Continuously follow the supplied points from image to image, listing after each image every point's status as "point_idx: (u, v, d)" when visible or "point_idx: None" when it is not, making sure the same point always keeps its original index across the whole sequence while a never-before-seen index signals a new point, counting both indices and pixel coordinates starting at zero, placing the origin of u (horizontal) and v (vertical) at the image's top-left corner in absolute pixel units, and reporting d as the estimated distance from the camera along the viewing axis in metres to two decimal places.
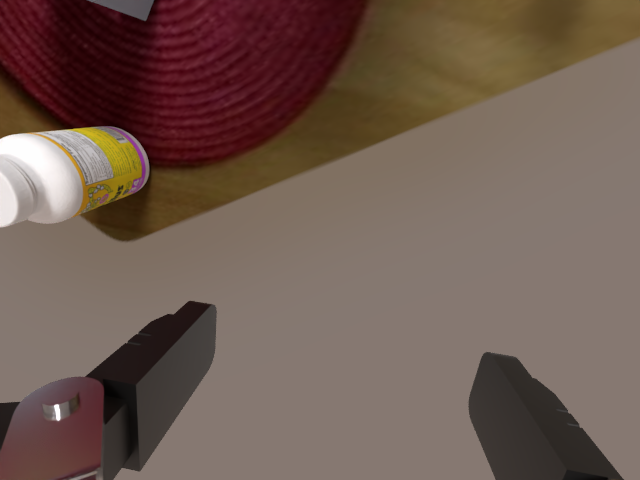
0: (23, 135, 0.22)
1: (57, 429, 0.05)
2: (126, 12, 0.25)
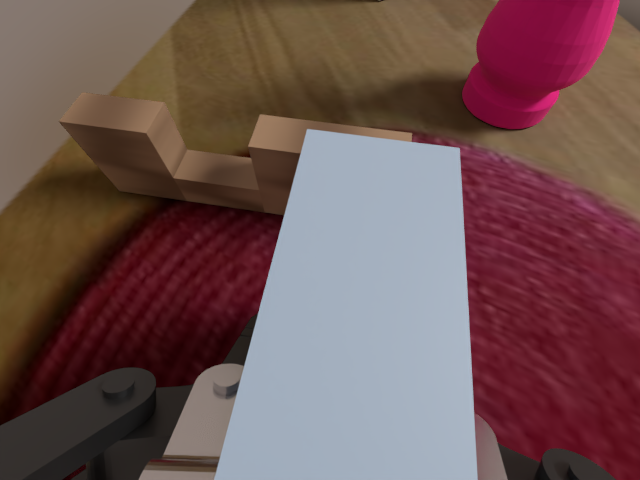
0: None
1: (219, 408, 0.06)
2: None
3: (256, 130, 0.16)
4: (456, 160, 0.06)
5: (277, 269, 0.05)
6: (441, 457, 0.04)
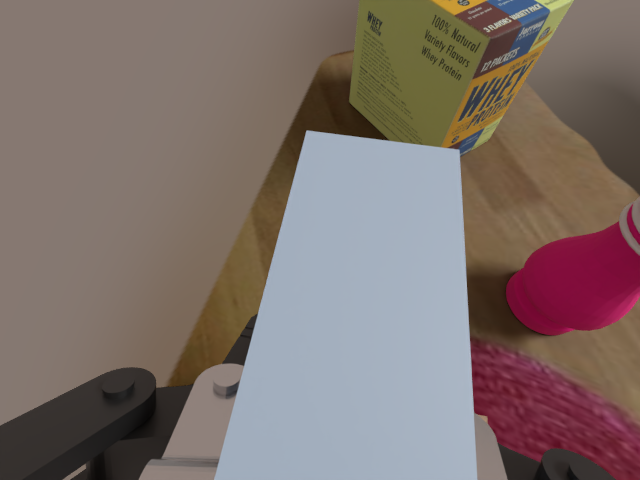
0: None
1: (219, 409, 0.06)
2: None
3: None
4: (456, 162, 0.06)
5: (276, 271, 0.05)
6: (441, 461, 0.04)
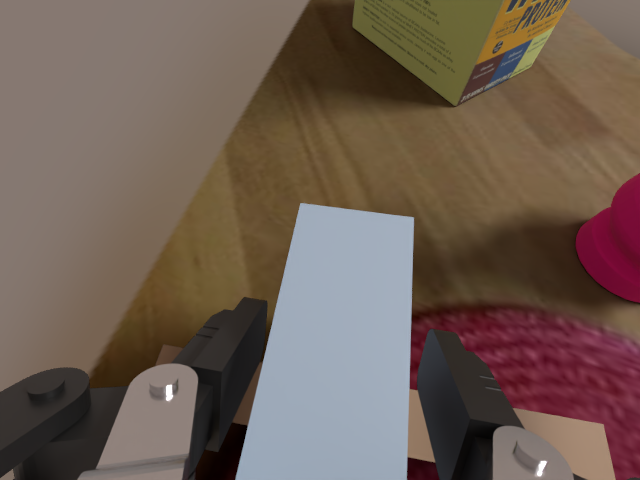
0: None
1: (158, 410, 0.06)
2: None
3: None
4: (410, 228, 0.08)
5: (278, 316, 0.07)
6: (384, 444, 0.06)
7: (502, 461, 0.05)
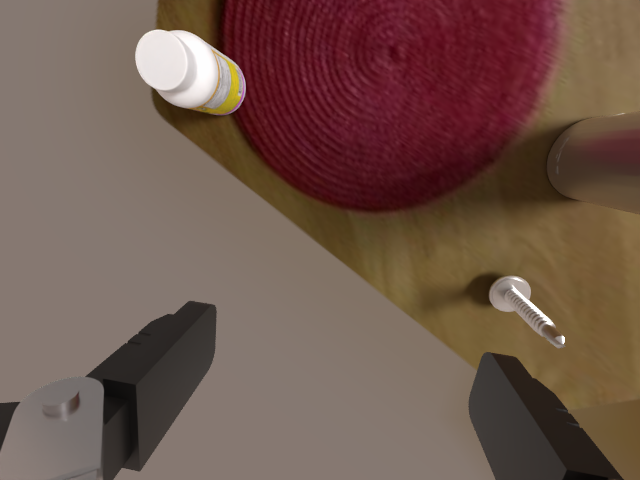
0: (211, 55, 0.30)
1: (57, 429, 0.05)
2: None
3: None
4: None
5: None
6: None
7: None
